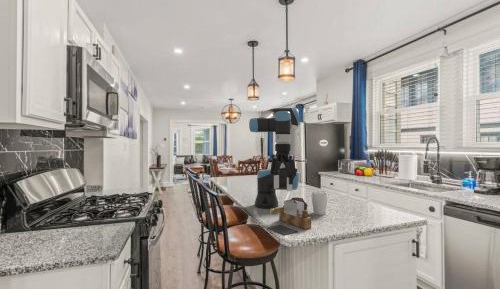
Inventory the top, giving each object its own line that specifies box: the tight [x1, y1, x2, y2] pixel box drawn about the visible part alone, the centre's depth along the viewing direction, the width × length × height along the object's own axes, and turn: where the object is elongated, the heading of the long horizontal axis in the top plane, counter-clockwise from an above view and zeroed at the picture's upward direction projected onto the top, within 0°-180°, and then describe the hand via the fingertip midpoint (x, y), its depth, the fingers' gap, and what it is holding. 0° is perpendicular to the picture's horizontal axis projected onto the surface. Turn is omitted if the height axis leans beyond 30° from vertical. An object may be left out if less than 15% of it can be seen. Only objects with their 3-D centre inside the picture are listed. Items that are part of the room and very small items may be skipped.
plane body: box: [278, 204, 312, 230], centre depth 130 cm, size 18×4×8 cm, turn 35°
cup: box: [311, 190, 329, 216], centre depth 150 cm, size 9×9×12 cm
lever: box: [269, 206, 284, 214], centre depth 132 cm, size 2×8×2 cm, turn 125°
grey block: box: [283, 199, 304, 217], centre depth 130 cm, size 9×5×7 cm, turn 35°
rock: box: [290, 197, 308, 211], centre depth 145 cm, size 14×11×10 cm
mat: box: [266, 223, 298, 236], centre depth 121 cm, size 12×8×1 cm, turn 35°
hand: (282, 189), depth 128 cm, fingers open, 9 cm apart
